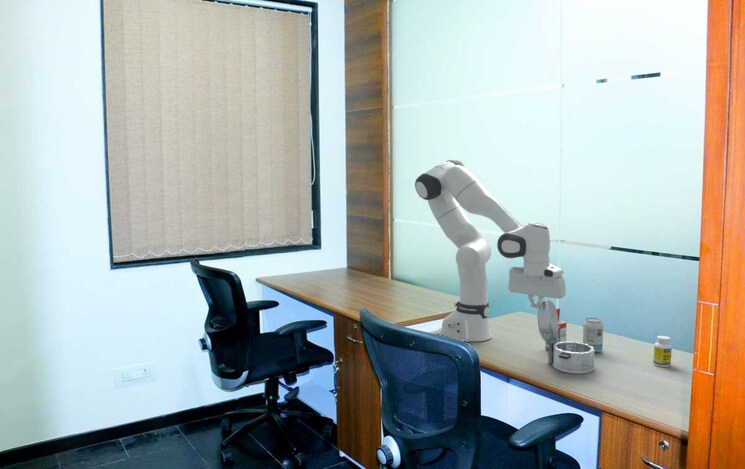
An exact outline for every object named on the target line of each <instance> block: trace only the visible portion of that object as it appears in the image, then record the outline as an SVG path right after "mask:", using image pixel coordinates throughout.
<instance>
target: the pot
mask: <svg viewBox="0 0 745 469" xmlns="http://www.w3.org/2000/svg"><path fill="white" fill-rule="evenodd" d="M547 356H548V359H547V364H549V365H552V367H553V368H554V369H555V370H556V371H559V372H562V373H567V374H573V375H574V374H575V375H584V374H590V373H592V372H593V371H594V370H595V353H594V348H593V346H590V345H588V344H585V343H583V342H579V341H570V340H569V341H567V340H566V341H565V342H557V343H553V344H552V345H549V350H548V354H547Z"/></svg>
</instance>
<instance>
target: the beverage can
mask: <svg viewBox="0 0 745 469" xmlns="http://www.w3.org/2000/svg"><path fill="white" fill-rule="evenodd" d="M582 326H583V328H582V343H585V344H588V345H590V346H593V348H594V354H599V353H600V352H602V351H603V348H604V346H603V342H604V323H603V321H602V318H597V317H587V318H585V320H584V322H583V325H582Z"/></svg>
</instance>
